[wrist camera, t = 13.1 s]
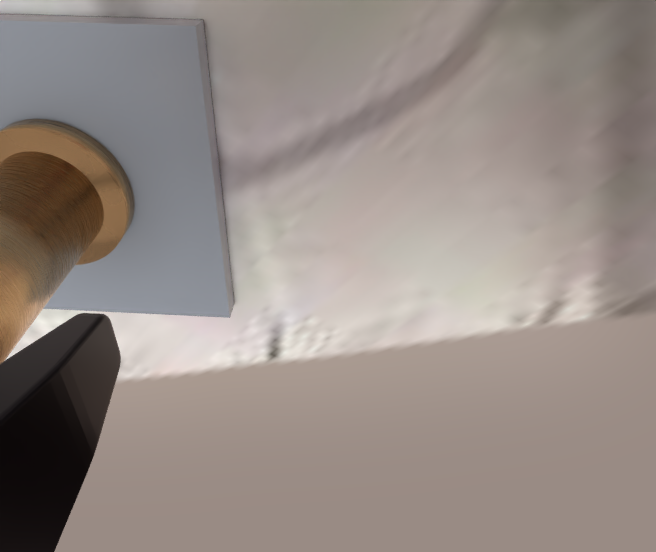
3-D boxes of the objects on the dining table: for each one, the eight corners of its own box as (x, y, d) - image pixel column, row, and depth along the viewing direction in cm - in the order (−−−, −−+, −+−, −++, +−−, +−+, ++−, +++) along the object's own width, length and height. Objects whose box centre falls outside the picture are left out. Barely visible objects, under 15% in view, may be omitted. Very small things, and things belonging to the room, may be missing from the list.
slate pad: (203, 19, 18) (195, 25, 17) (234, 303, 25) (229, 317, 24) (-149, 9, 18) (-173, 15, 17) (-21, 291, 25) (-34, 304, 25)
